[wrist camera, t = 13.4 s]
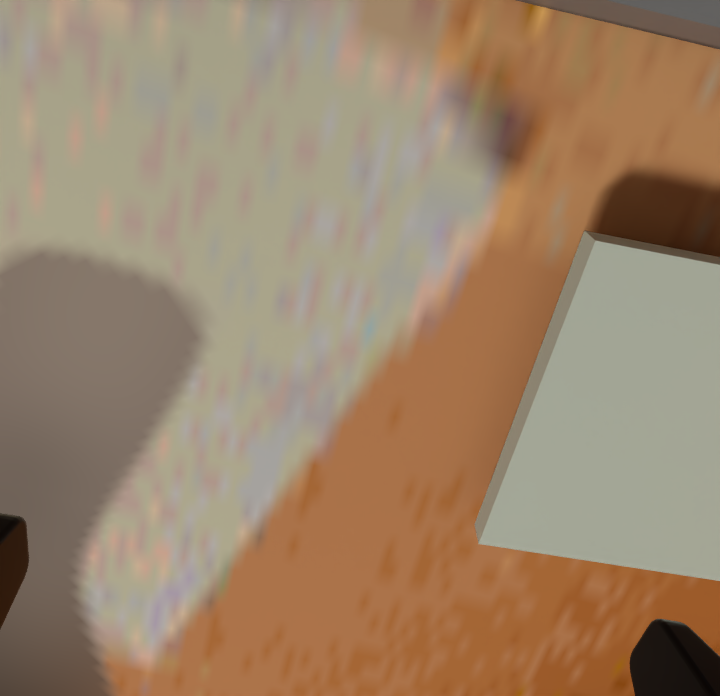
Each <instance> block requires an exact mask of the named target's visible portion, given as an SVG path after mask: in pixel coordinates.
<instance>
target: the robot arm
mask: <svg viewBox="0 0 720 696" xmlns="http://www.w3.org/2000/svg"><path fill="white" fill-rule="evenodd" d="M28 563H29V552H28V539H27V525H26V521H25V520H24V519H23V518H22V517H20V516H15V515H8V514H2V513H0V629H1V626H2V625H3V622H4V620H5V618H6V616H7V614H8V612H9V610H10V607H11V605H12V603H13V601H14V599H15V597H16V595H17V593H18V590H19V588H20V586H21V584H22V582H23V580H24V577H25V575H26V572H27V568H28ZM630 673H631V677H632V682H633V687H634V692H635V696H720V656H719V655H718V654H716V653H715V652H714V651H713V650H712V649H711V648H710V647H709V646H708V645H707V644H706V643H705V642H704V641H703V640H702V639H701V638H700V637H699V636H698V635H697V634H696V633H695V632H694V631H693V630H691V629H690V628H689V627H688V626H687V625H685V624H683V623H681V622H677V621H671V620H664V619H656V620H654V621H652V622H651V623H650V624H649V626H648V628H647V629H646V631H645V632H644V634H643V635H642V637H641V638H640V640H639V642H638V643H637V645H636V646H635V648H634V649H633V651H632V653H631V657H630Z"/></svg>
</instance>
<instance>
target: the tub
mask: <svg viewBox="0 0 720 696" xmlns="http://www.w3.org/2000/svg"><path fill="white" fill-rule="evenodd" d="M517 1H521V2H525V3H529V4H533V5H537V6H542V7H546V8H550V9H554V10H558V11H562V12H567V13H571V14H575V15H579V16H583V17H587V18H592V19H596V20H600V21H604V22H608V23H612V24H617V25H621V26H625V27H629V28H633V29H637V30H642V31H646V32H650V33H654V34H658V35H662V36H667V37H671V38H675V39H679V40H683V41H687V42H691V43H696V44H700V45H704V46H708V47H712V48H716V49H720V0H517Z"/></svg>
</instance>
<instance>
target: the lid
mask: <svg viewBox="0 0 720 696" xmlns="http://www.w3.org/2000/svg"><path fill="white" fill-rule="evenodd" d="M475 529H476V534H477V538H478V543H479V544H483V545H490V546H496V547H503V548H509V549H516V550H522V551H529V552H535V553H542V554H548V555H555V556H561V557H568V558H574V559H581V560H587V561H594V562H600V563H607V564H613V565H620V566H626V567H633V568H639V569H646V570H652V571H659V572H665V573H672V574H678V575H685V576H691V577H698V578H704V579H711V580H717V581H720V257H717V256H712V255H706V254H701V253H696V252H691V251H686V250H681V249H676V248H671V247H666V246H661V245H656V244H650V243H645V242H640V241H635V240H630V239H625V238H620V237H615V236H610V235H605V234H600V233H594V232H589V231H584V233H583V236H582V238H581V241H580V244H579V246H578V249H577V252H576V254H575V257H574V260H573V262H572V265H571V268H570V270H569V273H568V276H567V278H566V281H565V284H564V286H563V289H562V292H561V294H560V297H559V300H558V303H557V305H556V308H555V311H554V313H553V316H552V319H551V321H550V324H549V327H548V329H547V332H546V335H545V337H544V340H543V343H542V345H541V348H540V351H539V353H538V356H537V359H536V361H535V364H534V367H533V369H532V372H531V375H530V377H529V380H528V383H527V386H526V388H525V391H524V394H523V396H522V399H521V402H520V404H519V407H518V410H517V412H516V415H515V418H514V420H513V423H512V426H511V428H510V431H509V434H508V436H507V439H506V442H505V444H504V447H503V450H502V452H501V455H500V458H499V461H498V463H497V466H496V469H495V471H494V474H493V477H492V479H491V482H490V485H489V487H488V490H487V493H486V495H485V498H484V501H483V503H482V506H481V509H480V511H479V514H478V517H477V519H476V522H475Z"/></svg>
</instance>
